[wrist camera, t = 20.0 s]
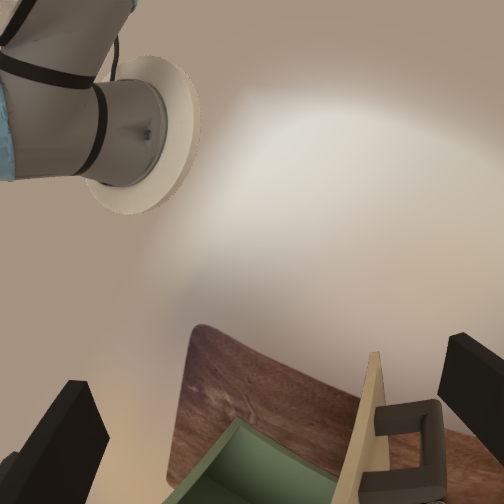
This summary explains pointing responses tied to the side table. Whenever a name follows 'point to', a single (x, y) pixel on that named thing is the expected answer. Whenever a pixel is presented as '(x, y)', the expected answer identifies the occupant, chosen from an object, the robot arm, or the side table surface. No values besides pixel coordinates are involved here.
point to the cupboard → (253, 473)
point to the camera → (436, 502)
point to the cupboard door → (377, 449)
